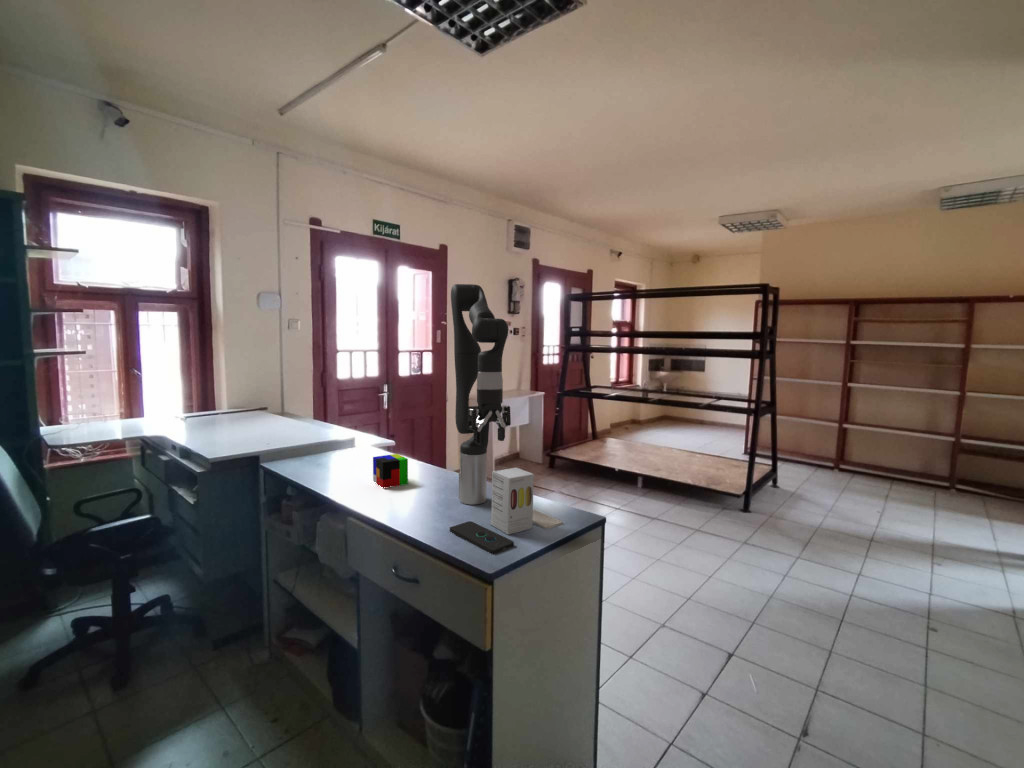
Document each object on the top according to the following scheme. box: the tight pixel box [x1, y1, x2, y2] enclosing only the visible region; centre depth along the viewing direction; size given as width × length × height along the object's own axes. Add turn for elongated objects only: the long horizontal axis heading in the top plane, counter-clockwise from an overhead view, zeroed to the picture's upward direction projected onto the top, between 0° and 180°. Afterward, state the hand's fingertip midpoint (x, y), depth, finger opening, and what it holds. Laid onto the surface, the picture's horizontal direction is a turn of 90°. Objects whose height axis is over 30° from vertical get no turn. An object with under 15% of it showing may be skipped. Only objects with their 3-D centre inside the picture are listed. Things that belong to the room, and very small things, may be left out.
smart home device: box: [449, 520, 515, 555], centre depth 133 cm, size 8×2×20 cm
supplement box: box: [490, 467, 535, 535], centre depth 141 cm, size 10×9×17 cm
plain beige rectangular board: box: [532, 508, 564, 530], centre depth 149 cm, size 16×7×1 cm, turn 40°
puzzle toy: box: [372, 453, 409, 489], centre depth 183 cm, size 10×10×10 cm
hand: (489, 442), depth 138 cm, fingers open, 8 cm apart
